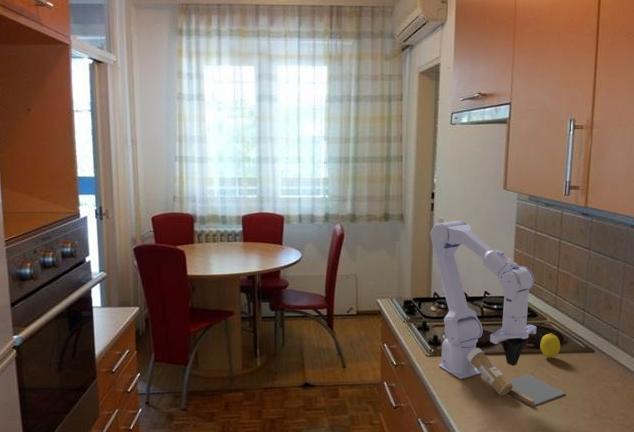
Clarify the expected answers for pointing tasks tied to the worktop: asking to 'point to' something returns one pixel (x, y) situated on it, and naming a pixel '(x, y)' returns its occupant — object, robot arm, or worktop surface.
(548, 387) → the mat
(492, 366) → the sprinkles bottle
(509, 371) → the worktop surface
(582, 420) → the worktop surface
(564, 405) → the worktop surface
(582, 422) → the worktop surface
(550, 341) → the lemon
